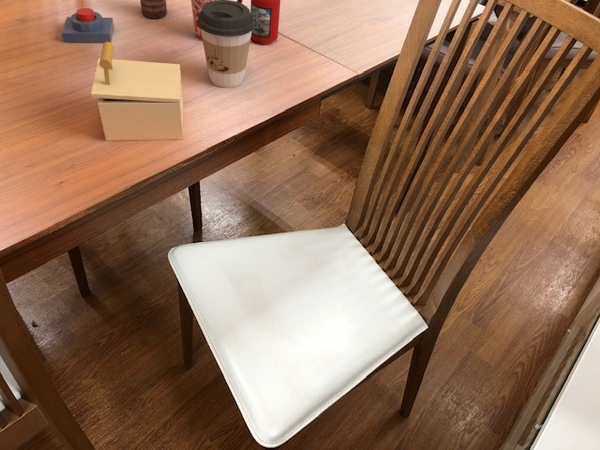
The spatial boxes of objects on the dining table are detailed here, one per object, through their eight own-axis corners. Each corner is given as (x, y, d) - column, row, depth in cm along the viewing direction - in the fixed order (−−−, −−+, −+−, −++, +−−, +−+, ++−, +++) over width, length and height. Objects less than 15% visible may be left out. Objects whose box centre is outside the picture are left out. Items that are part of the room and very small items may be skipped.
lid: (91, 97, 84) (86, 67, 80) (98, 61, 92) (95, 32, 88) (179, 102, 88) (180, 74, 84) (179, 68, 95) (180, 40, 91)
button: (76, 22, 112) (75, 14, 111) (79, 15, 114) (77, 7, 113) (94, 22, 113) (92, 15, 111) (95, 15, 115) (94, 7, 114)
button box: (63, 42, 112) (59, 25, 110) (69, 25, 118) (65, 8, 115) (111, 43, 114) (107, 26, 111) (114, 26, 120) (111, 9, 117)
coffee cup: (190, 84, 106) (185, 14, 95) (214, 60, 113) (212, -8, 103) (239, 99, 104) (240, 28, 93) (261, 73, 112) (264, 6, 101)
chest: (105, 140, 91) (97, 103, 85) (111, 104, 99) (104, 67, 93) (183, 139, 93) (180, 103, 88) (183, 103, 101) (180, 68, 95)
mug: (196, 46, 117) (192, -14, 107) (186, 28, 123) (183, -31, 113) (248, 41, 121) (249, -17, 111) (237, 23, 127) (237, -33, 117)
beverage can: (243, 37, 122) (244, -14, 113) (264, 30, 126) (267, -20, 117) (262, 48, 119) (265, -3, 111) (283, 41, 123) (287, -10, 114)
